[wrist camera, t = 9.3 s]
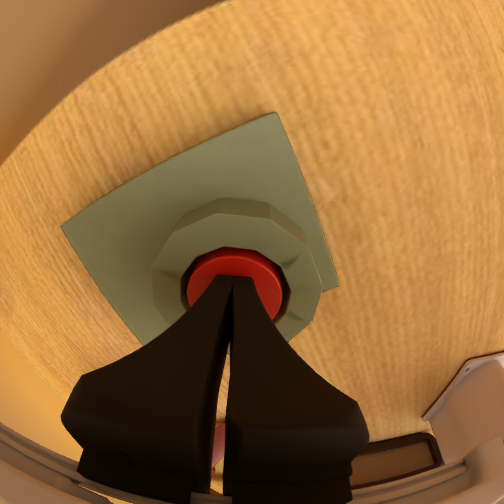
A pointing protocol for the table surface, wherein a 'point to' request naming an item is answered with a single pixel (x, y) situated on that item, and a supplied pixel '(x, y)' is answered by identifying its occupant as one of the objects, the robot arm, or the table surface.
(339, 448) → the robot arm
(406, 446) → the book
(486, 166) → the table surface
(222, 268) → the button
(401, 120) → the table surface
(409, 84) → the table surface
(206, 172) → the olive button base
